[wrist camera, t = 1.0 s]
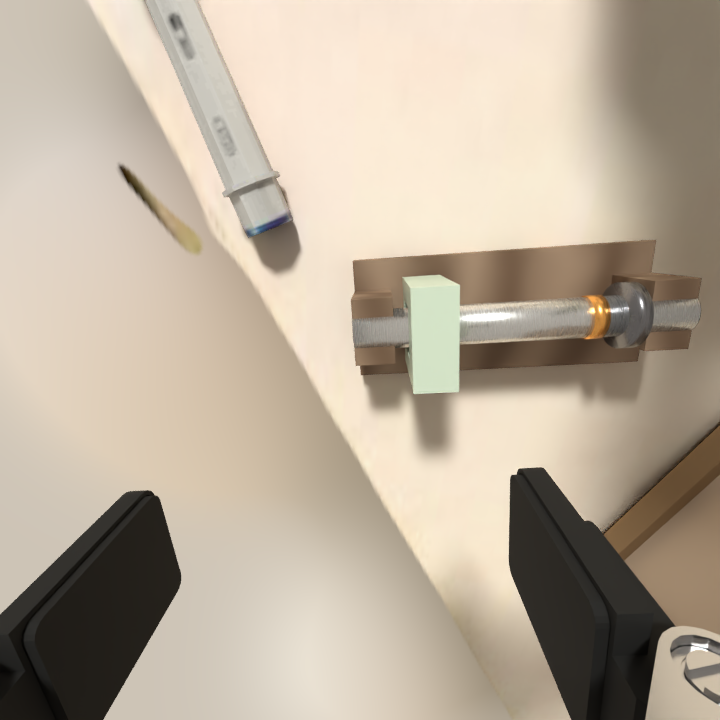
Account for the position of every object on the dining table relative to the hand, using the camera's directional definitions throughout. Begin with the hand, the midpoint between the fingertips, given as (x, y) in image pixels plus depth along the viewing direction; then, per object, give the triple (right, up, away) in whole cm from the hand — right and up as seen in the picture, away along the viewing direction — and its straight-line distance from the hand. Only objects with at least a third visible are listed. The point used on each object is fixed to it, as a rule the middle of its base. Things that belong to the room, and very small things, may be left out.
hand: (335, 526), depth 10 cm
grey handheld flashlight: (-11, +27, +20) cm, 35 cm away
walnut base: (+12, +9, +24) cm, 28 cm away
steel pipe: (+12, +8, +21) cm, 25 cm away
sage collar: (+6, +8, +22) cm, 24 cm away
